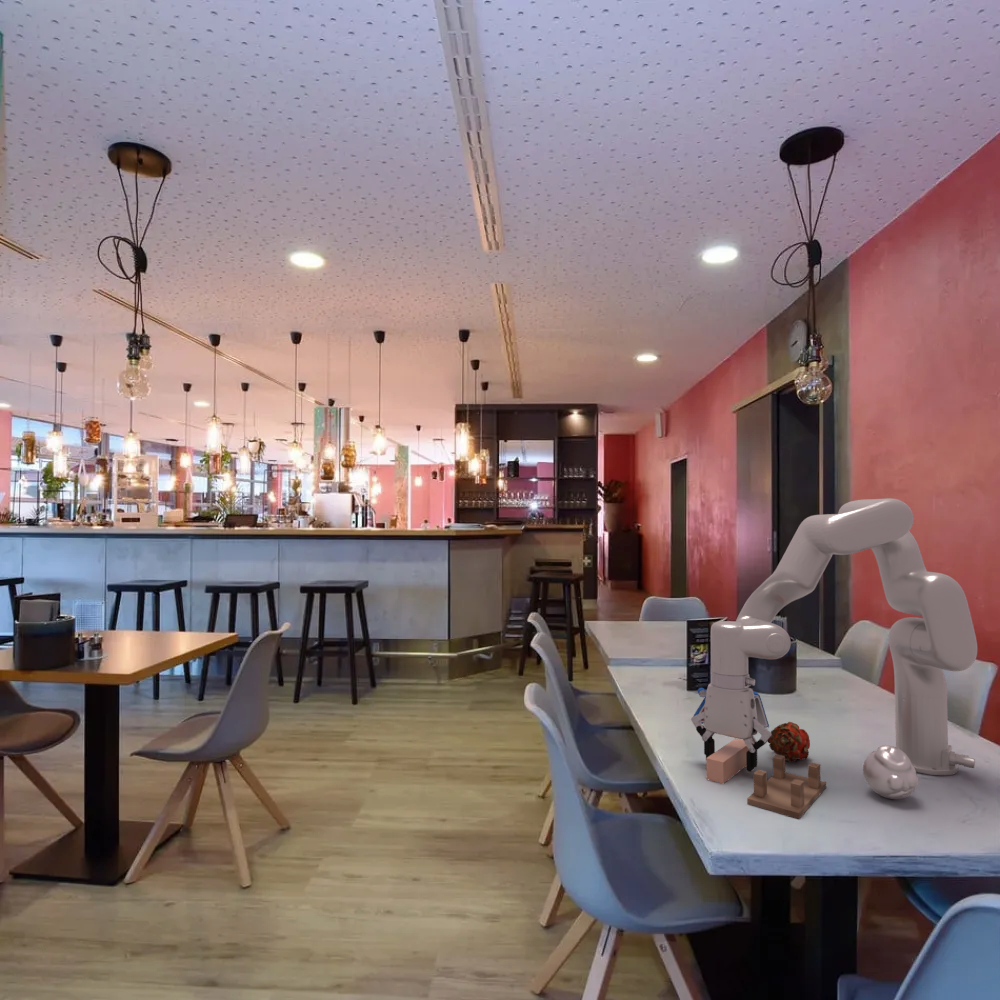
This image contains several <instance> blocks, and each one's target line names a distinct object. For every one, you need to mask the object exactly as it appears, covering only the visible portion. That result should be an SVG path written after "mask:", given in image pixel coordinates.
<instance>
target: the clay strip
mask: <svg viewBox="0 0 1000 1000" xmlns="http://www.w3.org/2000/svg"><path fill="white" fill-rule="evenodd" d="M747 751H748V747H747V746H746V744H745V742H744V740H743V739H738V738H734V739H733V740H732V739H731V741H730V742H728V743H726V744H725V745H723V746H722V747H721V748H719V749H718V750H715V753H713V754H712V755H710V756H709V757H707V758H706V757H705V761H706V768H705V769H706V780H707V779H709V780H708V781H711V780H712V782H715V781H717V782H716V783H718V782H720V783H719V784H722V783H724V782H725V783H726V781H727V780H728V779H729V780H730V779H732V778H733V777H734V776H735V774H736V773H737V772H738V771H739V770H741V769H742V768H743V767H744V768H746V767H745V766H746V753H747ZM744 768H743V769H744ZM743 769H742V770H743ZM742 770H741V771H742ZM739 772H740V771H739ZM739 772H738V773H739ZM738 773H737V774H738ZM737 774H736V775H737ZM733 775H734V776H733ZM732 776H733V777H732ZM731 777H732V778H731ZM729 780H728V781H729ZM728 781H727V782H728ZM725 783H724V784H725Z"/></svg>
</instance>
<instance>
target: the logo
mask: <svg viewBox="0 0 1000 1000" xmlns="http://www.w3.org/2000/svg"><path fill="white" fill-rule="evenodd" d="M697 693H698V696H699V697H700V698H703V700H702V701H701V703H700V705H698V707H697V709H696V711H695V713H694V714H693V716H692V717H694V716H696V715H698V714H700V713H702V712H704V709H705V699H706V693H707V690H706V689H705V688H703V687H699V688H698V689H697ZM753 693H754V698H755V704H756V711H757V721H758V722H759V723H760V724H761V725H762V726H764V727H765V728H767V727H768V728H769V727H770V724H769V721H768V717H767V714H766V711H765V708H764V704H763V701H762V699H761V696H760V694H759V693H758V692H757V691H753ZM701 723H702V724H703V723H704V718H703V719H701Z"/></svg>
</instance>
